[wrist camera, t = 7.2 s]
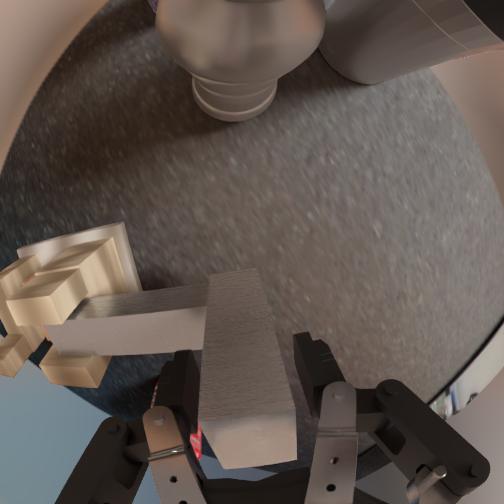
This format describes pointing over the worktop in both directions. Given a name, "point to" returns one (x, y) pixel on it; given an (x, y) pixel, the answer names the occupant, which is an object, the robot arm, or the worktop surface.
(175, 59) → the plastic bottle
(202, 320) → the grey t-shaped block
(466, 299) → the worktop surface
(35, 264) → the stand
